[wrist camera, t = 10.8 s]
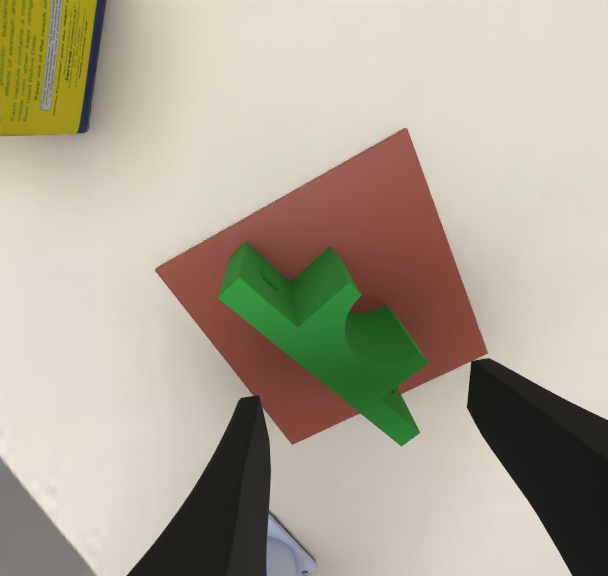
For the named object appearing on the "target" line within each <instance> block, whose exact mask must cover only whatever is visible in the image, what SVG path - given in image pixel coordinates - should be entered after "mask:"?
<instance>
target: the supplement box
mask: <svg viewBox="0 0 608 576" xmlns="http://www.w3.org/2000/svg"><path fill="white" fill-rule="evenodd" d="M104 7H105V0H0V136H24V135H47V134H50V135H54V134H74V133H84V132H86V131H87V130H88V125H89V115H90V106H91V95H92V89H93V83H94V77H95V71H96V64H97V58H98V50H99V41H100V34H101V28H102V22H103V14H104Z"/></svg>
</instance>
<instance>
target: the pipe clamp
mask: <svg viewBox="0 0 608 576" xmlns="http://www.w3.org/2000/svg"><path fill="white" fill-rule="evenodd" d="M361 296H362V295H361V293H360V291H359V290H358V288H357V286H356V284H355V283H354V281H353V279H352V277H351V276H350V274H349V272H348V270H347V269H346V267H345V265H344V263H343V262H342V260H341V258H340V256H339V255H338V254H337V253H336V252H335V251H334V250H333V249H332V248H331V247H330V246H329V247H328V248H327V249H326V250H325V251H324V252H323V253H322V254H320V255H319V256H318V257H317V258H316V259H315V260H314V261H313V262H312V263H311V264H310V265H309V266H308V267H306V268H305V269H304V270H303V271H302V272H301V273H300V274H299V275H298V276H297V277H296V278H295V279H293V280H292V281H291V282H290V281H289V280H288V279H287V278H286V277H285V276H284V275H283V274H282V273H280V272H279V271H278V270H277V269H276V268H275V267H274V266H273V265H272V264H271V263H270V262H268V261H267V260H266V259H265V258H264V257H263V256H262V255H261V254H260V253H259V252H258V251H256V250H255V249H254V248H253V247H252V246H251V245H250V244H249V243H248V242H247V241H246V242H245V243H244V244H243V245H242V246H241V247H240V248H239V249H238V250H237V251H236V252H235V253H234V254H233V255H232V256H231V257H230V259H229V262H228V266H227V269H226V272H225V276H224V279H223V282H222V286H221V289H220V293H219V296H218V299H220V300H221V301H222V302H223V303H225V304H226V305H227V306H228V307H230V308H231V309H232V310H233V311H234V312H236V313H237V314H238V315H239V316H241V317H242V318H243V319H244V320H246V321H247V322H248V323H249V324H251V325H252V326H253V327H254V328H256V329H257V330H258V331H259V332H260V333H262V334H263V335H264V336H265V337H267V338H268V339H269V340H270V341H272V342H273V343H274V344H275V345H277V346H278V347H279V348H280V349H282V350H283V351H284V352H285V353H286V354H288V355H289V356H290V357H291V358H293V359H294V360H295V361H296V362H298V363H299V364H300V365H301V366H303V367H304V368H305V369H306V370H308V371H309V372H310V373H311V374H312V375H314V376H315V377H316V378H317V379H319V380H320V381H321V382H322V383H324V384H325V385H326V386H327V387H329V388H330V389H331V390H332V391H334V392H335V393H336V394H337V395H338V396H340V397H341V398H342V399H343V400H345V401H346V402H347V403H348V404H350V405H351V406H352V407H353V408H355V409H356V410H357V411H358V412H360V413H361V414H362V415H363V416H364V417H366V418H367V419H368V420H369V421H371V422H372V423H373V424H374V425H376V426H377V427H378V428H379V429H381V430H382V431H383V432H384V433H386V434H387V435H388V436H389V437H390V438H392V439H393V440H394V441H395V442H397V443H398V444H399V445H400V446H403V445H404V444H405V443H407V442H408V441H410V440H411V439H412V438H414V437H415V436H417V435H418V434H419V433H420V431H419V429H418V427H417V425H416V423H415V421H414V420H413V418H412V416H411V414H410V412H409V410H408V408H407V406H406V404H405V402H404V400H403V398H402V396H401V394H400V392H399V390H398V388H397V387H398V386H399V385H400V384H402V383H403V382H404V381H406V380H407V379H408V378H410V377H411V376H412V375H413V374H415V373H416V372H417V371H419V370H420V369H421V368H423V367H424V366H425V365H427V364H428V363H429V362H428V360H427V359H426V357H425V356H424V355H423V353H422V352H421V350H420V349H419V347H418V346H417V344H416V343H415V342H414V340H413V339H412V337H411V336H410V334H409V333H408V331H407V330H406V329H405V327H404V326H403V324H402V323H401V321H400V320H399V319H398V317H397V316H396V314H395V313H394V312H393V311H392V310H391V309H390V308H389V306H388V305H387V304H385V305H383V306H382V307H380V308H379V309H377V310H374V311H371V312H368V313H351V312H349V311H350V309H351V307H352V306H353V305H354V303H355V302H356V301H357V300H358V299H359V298H360V297H361Z"/></svg>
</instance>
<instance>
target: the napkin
mask: <svg viewBox="0 0 608 576" xmlns="http://www.w3.org/2000/svg"><path fill="white" fill-rule="evenodd" d="M246 241H247V242H248V243H249V244H250V245H251V246H252V247H253V248H254V249H255V250H256V251H258V252H259V253H260V254H261V255H262V256H263V257H264V258H265V259H266V260H267V261H268V262H270V263H271V264H272V265H273V266H274V267H275V268H276V269H277V270H278V271H279V272H280V273H282V274H283V275H284V276H285V277H286V278H287V279H288V280H289V281H290V282H291V281H292V280H293V279H295V278H296V277H297V276H298V275H299V274H300V273H301V272H302V271H303V270H304V269H305V268H306V267H308V266H309V265H310V264H311V263H312V262H313V261H314V260H315V259H316V258H317V257H318V256H319V255H320V254H322V253H323V252H324V251H325V250H326V249H327V248H328V247H329V246H330V247H331V248H332V249H333V250H334V251H335V252H336V253H337V254H338V255H339V256H340V258H341V260H342V262H343V263H344V265H345V267H346V269H347V270H348V272H349V274H350V276H351V277H352V279H353V281H354V283H355V284H356V286H357V288H358V290H359V291H360V293H361V295H362V296H361V297H360V298H359V299H358V300H357V301H356V302H355V303H354V305H353V306H352V307H351V309H350V311H349V312H351V313H368V312H371V311H374V310H377V309H379V308H380V307H382V306H383V305H385V304H387V305H388V306H389V308H390V309H391V310H392V311H393V312H394V313H395V314H396V316H397V317H398V319H399V320H400V321H401V323H402V324H403V326H404V327H405V329H406V330H407V331H408V333H409V334H410V336H411V337H412V339H413V340H414V342H415V343H416V344H417V346H418V347H419V349H420V350H421V352H422V353H423V355H424V356H425V357H426V359H427V360H428V362H429V363H428V364H427V365H425V366H424V367H423V368H421V369H420V370H419V371H417V372H416V373H415V374H413V375H412V376H411V377H410V378H408V379H407V380H406V381H404V382H403V383H402V384H400V385H399V386H398V387H397V388H398V390H399V392H400V394H402V393H404V392H406V391H408V390H411V389H413V388H415V387H417V386H419V385H421V384H423V383H425V382H428V381H430V380H432V379H434V378H436V377H438V376H440V375H443V374H445V373H447V372H449V371H451V370H453V369H455V368H458V367H460V366H462V365H464V364H466V363H468V362H470V361H473V360H475V359H477V358H479V357H481V356H483V355H485V354H487V353H488V352H487V350H486V347H485V344H484V341H483V338H482V336H481V333H480V330H479V327H478V325H477V322H476V319H475V316H474V313H473V311H472V308H471V305H470V302H469V299H468V297H467V294H466V291H465V288H464V286H463V283H462V280H461V277H460V274H459V272H458V269H457V266H456V263H455V261H454V258H453V255H452V252H451V249H450V247H449V244H448V241H447V238H446V235H445V233H444V230H443V227H442V224H441V222H440V219H439V216H438V213H437V210H436V208H435V205H434V202H433V199H432V197H431V194H430V191H429V188H428V185H427V183H426V180H425V177H424V174H423V171H422V169H421V166H420V163H419V160H418V158H417V155H416V152H415V149H414V146H413V144H412V141H411V138H410V135H409V133H408V130H407V128H405V129H403V130H401V131H399V132H397V133H395V134H394V135H392V136H390V137H388V138H387V139H385V140H383V141H381V142H379V143H378V144H376V145H374V146H372V147H371V148H369V149H367V150H365V151H363V152H362V153H360V154H358V155H356V156H355V157H353V158H351V159H349V160H347V161H346V162H344V163H342V164H340V165H339V166H337V167H335V168H333V169H331V170H330V171H328V172H326V173H324V174H323V175H321V176H319V177H317V178H315V179H314V180H312V181H310V182H308V183H307V184H305V185H303V186H301V187H299V188H298V189H296V190H294V191H292V192H291V193H289V194H287V195H285V196H283V197H282V198H280V199H278V200H276V201H275V202H273V203H271V204H269V205H267V206H266V207H264V208H262V209H260V210H259V211H257V212H255V213H253V214H251V215H250V216H248V217H246V218H244V219H243V220H241V221H239V222H237V223H235V224H234V225H232V226H230V227H228V228H227V229H225V230H223V231H221V232H219V233H218V234H216V235H214V236H212V237H211V238H209V239H207V240H205V241H203V242H202V243H200V244H198V245H196V246H195V247H193V248H191V249H189V250H187V251H186V252H184V253H182V254H180V255H179V256H177V257H175V258H173V259H171V260H170V261H168V262H166V263H164V264H163V265H161V266H159V267H157V268H156V269H155V271H156V272H157V273H158V275H159V276H160V277H161V279H162V280H163V281H164V282H165V284H166V285H167V286H168V287H169V289H170V290H171V291H172V292H173V294H174V295H175V296H176V298H177V299H178V300H179V301H180V303H181V304H182V305H183V306H184V308H185V309H186V310H187V312H188V313H189V314H190V315H191V317H192V318H193V319H194V320H195V322H196V323H197V324H198V326H199V327H200V328H201V329H202V331H203V332H204V333H205V334H206V336H207V337H208V338H209V340H210V341H211V342H212V343H213V345H214V346H215V347H216V348H217V350H218V351H219V352H220V354H221V355H222V356H223V357H224V359H225V360H226V361H227V362H228V364H229V365H230V366H231V368H232V369H233V370H234V371H235V373H236V374H237V375H238V376H239V378H240V379H241V380H242V381H243V383H244V384H245V385H246V387H247V388H248V389H249V390H250V392H251V393H252V394H253V395H254V396H257V395H259V396H260V400H261V405H262V407H263V408H264V409H265V411H266V412H267V413H268V415H269V416H270V417H271V418H272V420H273V421H274V422H275V423H276V425H277V426H278V427H279V429H280V430H281V431H282V432H283V434H284V435H285V436H286V437H287V439H288V440H289V441H290V443H291V444H292V445H293V444H295V443H297V442H299V441H301V440H304V439H306V438H308V437H310V436H312V435H314V434H316V433H318V432H321V431H323V430H325V429H327V428H329V427H331V426H333V425H336V424H338V423H340V422H342V421H344V420H346V419H348V418H351V417H353V416H355V415H357V414H359V413H360V412H358V411H357V410H356V409H355V408H353V407H352V406H351V405H350V404H348V403H347V402H346V401H345V400H343V399H342V398H341V397H340V396H338V395H337V394H336V393H335V392H334V391H332V390H331V389H330V388H329V387H327V386H326V385H325V384H324V383H322V382H321V381H320V380H319V379H317V378H316V377H315V376H314V375H312V374H311V373H310V372H309V371H308V370H306V369H305V368H304V367H303V366H301V365H300V364H299V363H298V362H296V361H295V360H294V359H293V358H291V357H290V356H289V355H288V354H286V353H285V352H284V351H283V350H282V349H280V348H279V347H278V346H277V345H275V344H274V343H273V342H272V341H270V340H269V339H268V338H267V337H265V336H264V335H263V334H262V333H260V332H259V331H258V330H257V329H256V328H254V327H253V326H252V325H251V324H249V323H248V322H247V321H246V320H244V319H243V318H242V317H241V316H239V315H238V314H237V313H236V312H234V311H233V310H232V309H231V308H230V307H228V306H227V305H226V304H225V303H223V302H222V301H221V300H220V299H218V296H219V293H220V289H221V286H222V282H223V279H224V276H225V272H226V269H227V266H228V262H229V259H230V257H231V256H232V255H233V254H234V253H235V252H236V251H237V250H238V249H239V248H240V247H241V246H242V245H243V244H244V243H245V242H246Z"/></svg>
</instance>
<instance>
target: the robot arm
mask: <svg viewBox="0 0 608 576" xmlns="http://www.w3.org/2000/svg"><path fill="white" fill-rule="evenodd" d="M467 408H468V410H469V412H470V414H471V416H472V418H473V420H474V422H475V424H476V426H477V427H478V429H479V431H480V433H481V435H482V436H483V438H484V439H485V441H486V442H487V443H488V445H489V446H490V448H491V449H492V451H493V452H494V453H495V455H496V456H497V458H498V459H499V461H500V462H501V463H502V465H503V466H504V468H505V469H506V470H507V472H508V473H509V475H510V476H511V477H512V479H513V480H514V482H515V483H516V484H517V486H518V487H519V489H520V490H521V491H522V493H523V494H524V496H525V497H526V498H527V500H528V501H529V503H530V504H531V506H532V507H533V509H534V510H535V512H536V513H537V515H538V517H539V518H540V520H541V522H542V523H543V525H544V527H545V529H546V530H547V532H548V534H549V535H550V537H551V539H552V540H553V542H554V544H555V546H556V547H557V549H558V551H559V553H560V554H561V556H562V558H563V560H564V562H565V563H566V565H567V567H568V569H569V570H570V572H571V574H572V576H608V420H606V419H604V418H602V417H600V416H598V415H596V414H594V413H592V412H589V411H587V410H585V409H583V408H581V407H579V406H577V405H575V404H573V403H571V402H569V401H567V400H565V399H563V398H561V397H560V396H558V395H556V394H554V393H552V392H550V391H548V390H546V389H545V388H543V387H541V386H539V385H537V384H535V383H534V382H532V381H530V380H528V379H526V378H525V377H523V376H521V375H519V374H517V373H516V372H514V371H512V370H510V369H508V368H507V367H505V366H503V365H501V364H499V363H497V362H495V361H493V360H491V359H489V358H488V359H481V360H475V361H471V371H470V381H469V392H468V402H467ZM270 479H271V462H270V442H269V436H268V432H267V427H266V423H265V418H264V414H263V409H262V405H261V400H260V396H259V395H257V396H250V397H244V398H241V399H240V400H239V401H238V403H237V406H236V408H235V411H234V413H233V416H232V418H231V420H230V422H229V424H228V427H227V429H226V431H225V433H224V435H223V437H222V439H221V441H220V443H219V445H218V447H217V449H216V451H215V453H214V454H213V456H212V458H211V460H210V461H209V463H208V465H207V467H206V468H205V470H204V472H203V474H202V475H201V477H200V479H199V480H198V482H197V484H196V485H195V487H194V488H193V490H192V491H191V493H190V494H189V496H188V497H187V499H186V500H185V502H184V503H183V505H182V506H181V508H180V509H179V511H178V512H177V513H176V515H175V516H174V517H173V519H172V520H171V522H170V523H169V524H168V526H167V527H166V528H165V530H164V531H163V532H162V534H161V535H160V536H159V538H158V539H157V540H156V541H155V543H154V544H153V545H152V546H151V548H150V549H149V550H148V551H147V552H146V554H145V555H144V556H143V557H142V558H141V559H140V561H139V562H138V563H137V564H136V565H135V567H134V568H133V569H132V570H131V571H130V572H129V574H128V575H127V576H306V575H308V574H311V573H313V572H315V571H316V569H317V567H316V562H315V561H314V560H313V559H312V558H311V557H310V556H309V555H308V554H307V553H306V552H305V551H304V550H303V549H302V548H301V547H300V546H299V545H298V543H297V542H296V541H295V540H294V539H293V538H292V537H291V536H290V535H289V534H288V533H287V532H286V531H285V530H284V529H283V528H282V527H281V526H280V525H279V524H278V522H277V521H276V520H275V519H274V518H273V517H272V516H271V515H270V514H269V498H270Z"/></svg>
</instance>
